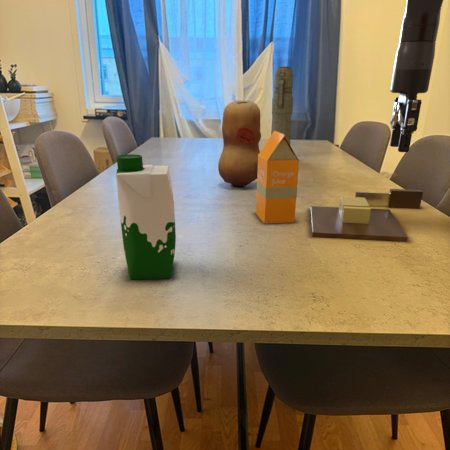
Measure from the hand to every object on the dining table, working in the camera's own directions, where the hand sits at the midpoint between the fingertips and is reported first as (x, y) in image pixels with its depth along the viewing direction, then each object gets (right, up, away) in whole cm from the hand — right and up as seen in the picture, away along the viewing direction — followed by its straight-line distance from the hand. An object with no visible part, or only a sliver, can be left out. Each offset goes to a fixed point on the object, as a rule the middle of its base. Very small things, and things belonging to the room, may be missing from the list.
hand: (398, 149), depth 97 cm
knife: (+5, -8, +20) cm, 23 cm away
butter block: (-8, -13, +9) cm, 18 cm away
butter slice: (-9, -16, +4) cm, 18 cm away
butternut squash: (-34, +3, +42) cm, 54 cm away
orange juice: (-27, -14, +11) cm, 32 cm away
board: (-8, -16, +6) cm, 19 cm away
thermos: (-15, +30, +95) cm, 101 cm away
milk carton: (-52, -29, -19) cm, 63 cm away
